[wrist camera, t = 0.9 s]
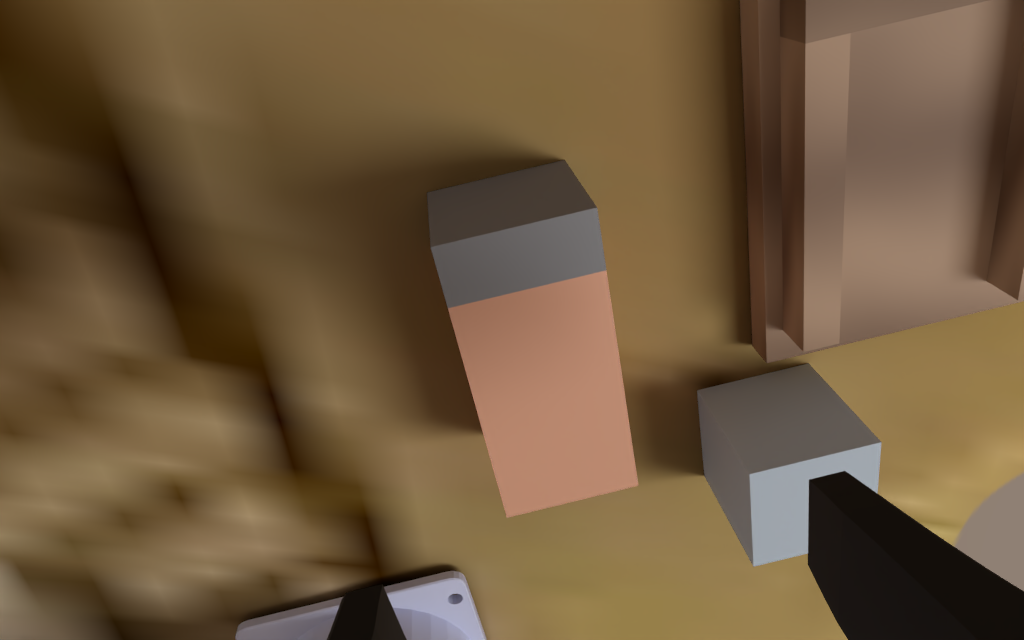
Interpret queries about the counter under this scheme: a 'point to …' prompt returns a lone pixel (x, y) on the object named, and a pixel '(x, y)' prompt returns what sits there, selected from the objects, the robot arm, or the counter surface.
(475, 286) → the two-tone peach block
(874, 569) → the robot arm
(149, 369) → the counter surface
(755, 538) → the pale blue-grey cube
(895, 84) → the jig
